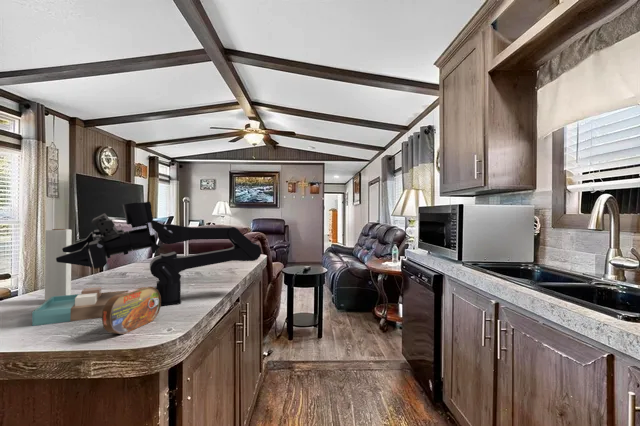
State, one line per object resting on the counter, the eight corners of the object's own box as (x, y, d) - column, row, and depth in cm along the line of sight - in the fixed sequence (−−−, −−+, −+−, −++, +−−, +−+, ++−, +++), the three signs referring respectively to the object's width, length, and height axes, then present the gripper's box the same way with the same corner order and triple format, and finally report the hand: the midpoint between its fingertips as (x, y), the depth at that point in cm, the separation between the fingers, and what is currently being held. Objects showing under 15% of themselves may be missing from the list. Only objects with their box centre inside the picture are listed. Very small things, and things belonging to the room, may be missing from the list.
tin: (111, 340, 65) (111, 298, 65) (98, 339, 65) (98, 297, 65) (162, 317, 79) (162, 283, 80) (151, 316, 80) (151, 283, 80)
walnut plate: (128, 300, 96) (128, 290, 96) (124, 314, 81) (124, 302, 81) (83, 305, 90) (83, 294, 90) (70, 321, 76) (70, 308, 76)
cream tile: (97, 300, 84) (97, 292, 84) (94, 304, 80) (94, 296, 80) (78, 302, 82) (78, 294, 82) (74, 306, 78) (75, 298, 78)
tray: (83, 305, 90) (83, 293, 90) (70, 321, 76) (70, 307, 76) (51, 308, 87) (51, 296, 87) (32, 325, 73) (32, 311, 73)
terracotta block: (101, 294, 91) (101, 287, 91) (99, 297, 87) (99, 289, 87) (84, 295, 89) (84, 288, 89) (81, 299, 85) (81, 291, 85)
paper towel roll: (49, 299, 97) (50, 228, 97) (73, 297, 99) (74, 228, 99) (39, 305, 90) (40, 229, 90) (65, 303, 92) (66, 229, 93)
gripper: (124, 207, 94) (57, 217, 87) (124, 218, 79) (43, 231, 71) (131, 243, 97) (68, 256, 89) (133, 261, 81) (56, 278, 74)
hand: (59, 254), depth 81 cm, fingers open, 9 cm apart
